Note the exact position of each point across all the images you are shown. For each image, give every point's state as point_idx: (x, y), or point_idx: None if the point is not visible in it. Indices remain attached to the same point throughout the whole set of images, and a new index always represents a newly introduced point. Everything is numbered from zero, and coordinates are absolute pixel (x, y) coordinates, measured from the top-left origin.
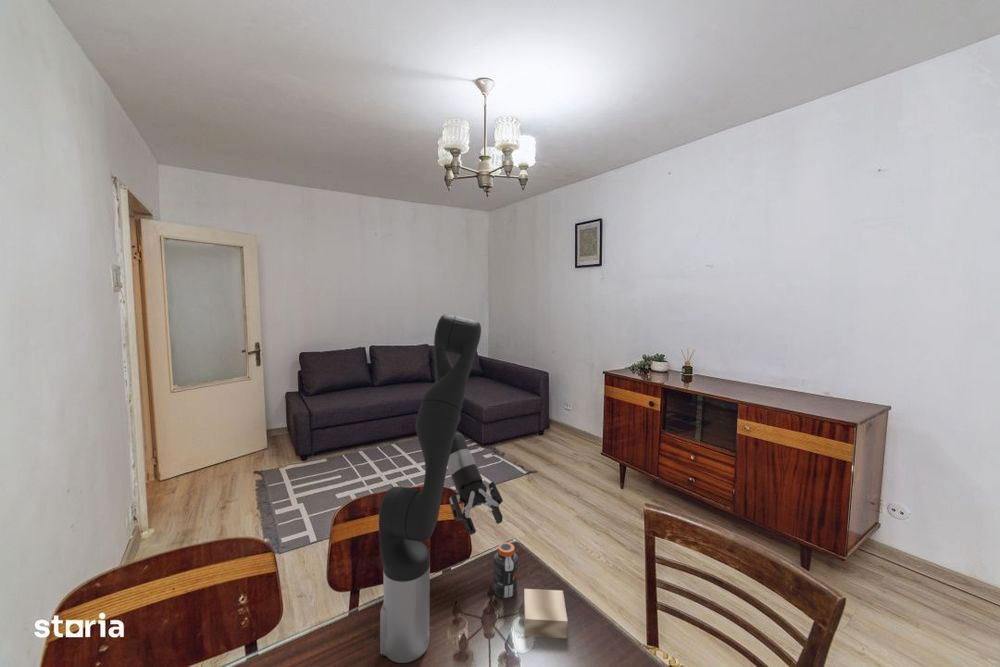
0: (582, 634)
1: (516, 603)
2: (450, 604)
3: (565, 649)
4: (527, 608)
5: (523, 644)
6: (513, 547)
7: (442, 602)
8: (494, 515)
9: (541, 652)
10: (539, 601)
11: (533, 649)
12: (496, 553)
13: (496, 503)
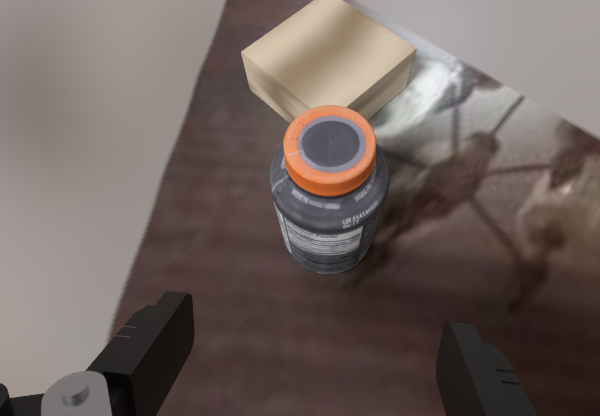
0: None
1: None
2: (537, 312)
3: None
4: (383, 66)
5: (424, 75)
6: (301, 118)
7: (562, 342)
8: (163, 384)
9: None
10: (331, 64)
11: None
12: (357, 206)
13: (68, 393)
